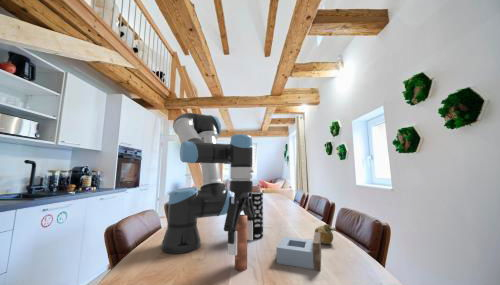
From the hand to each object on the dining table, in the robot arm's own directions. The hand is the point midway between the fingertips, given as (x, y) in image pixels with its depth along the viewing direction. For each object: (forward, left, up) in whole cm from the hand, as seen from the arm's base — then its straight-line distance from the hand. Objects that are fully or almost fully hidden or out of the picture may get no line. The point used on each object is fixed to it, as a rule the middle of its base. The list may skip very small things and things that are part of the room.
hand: (241, 246), depth 65 cm
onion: (+25, +33, -7) cm, 42 cm away
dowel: (0, 0, -7) cm, 7 cm away
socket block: (+16, +13, -7) cm, 22 cm away
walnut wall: (+23, +13, -7) cm, 27 cm away
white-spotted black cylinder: (-6, +30, -7) cm, 32 cm away
